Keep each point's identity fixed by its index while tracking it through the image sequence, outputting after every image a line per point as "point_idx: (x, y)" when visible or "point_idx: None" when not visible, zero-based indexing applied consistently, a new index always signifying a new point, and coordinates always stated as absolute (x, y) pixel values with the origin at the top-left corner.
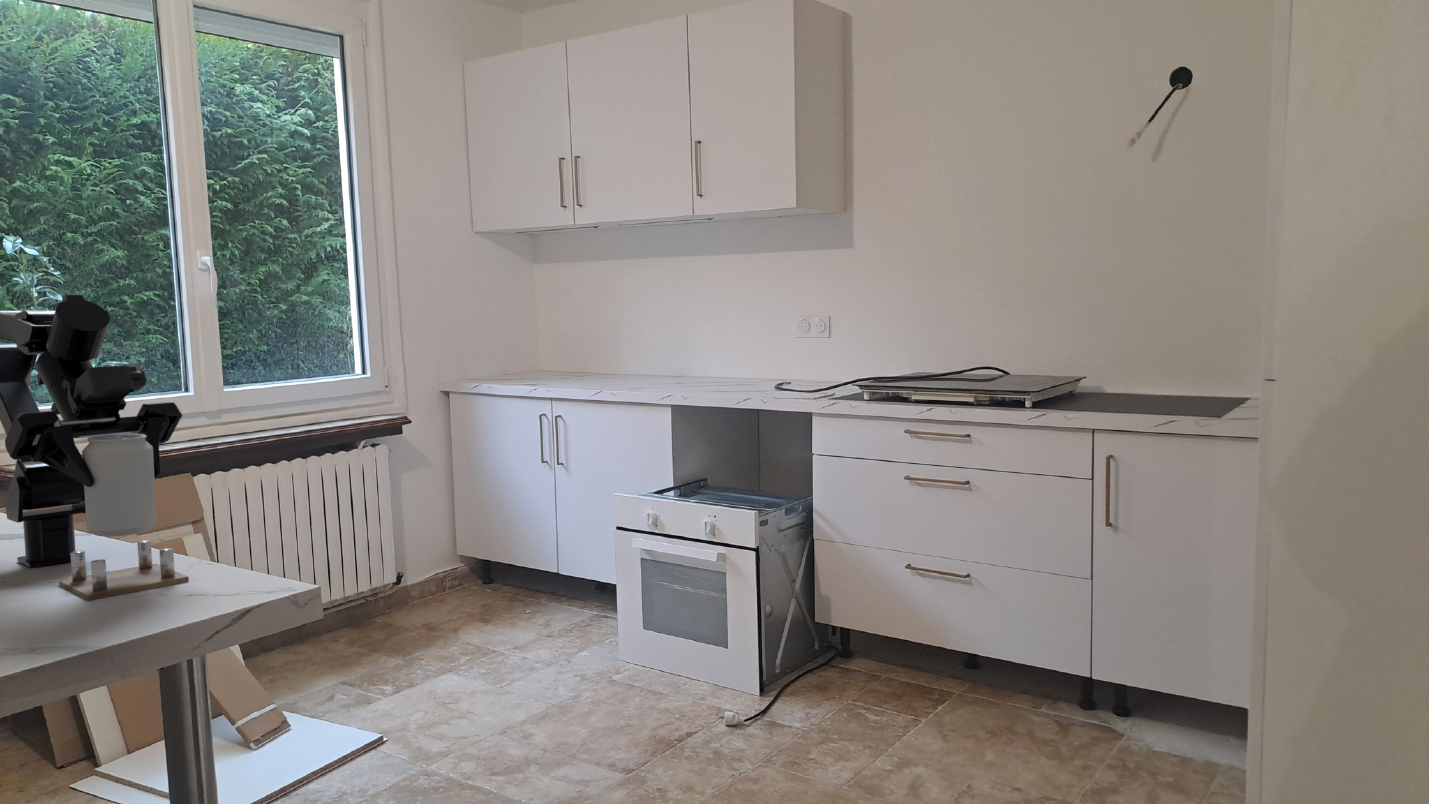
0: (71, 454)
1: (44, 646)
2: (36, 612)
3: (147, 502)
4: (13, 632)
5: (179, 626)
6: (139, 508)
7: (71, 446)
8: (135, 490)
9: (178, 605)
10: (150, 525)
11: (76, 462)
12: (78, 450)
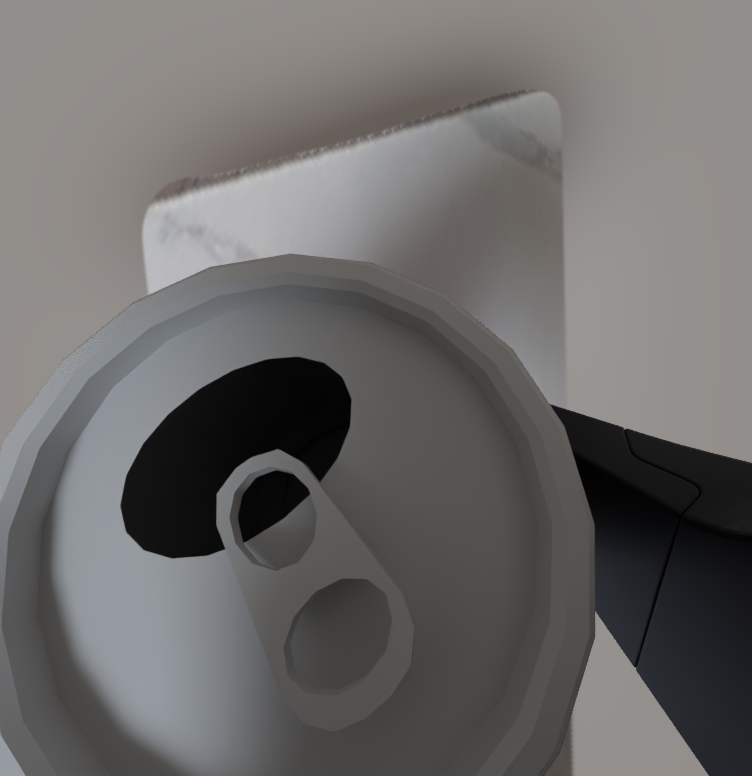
0: (658, 440)
1: (525, 163)
2: (530, 366)
3: (281, 407)
4: (562, 261)
5: (364, 140)
6: (315, 392)
7: (711, 498)
8: (312, 373)
9: (334, 248)
10: (293, 434)
11: (590, 420)
12: (622, 478)
